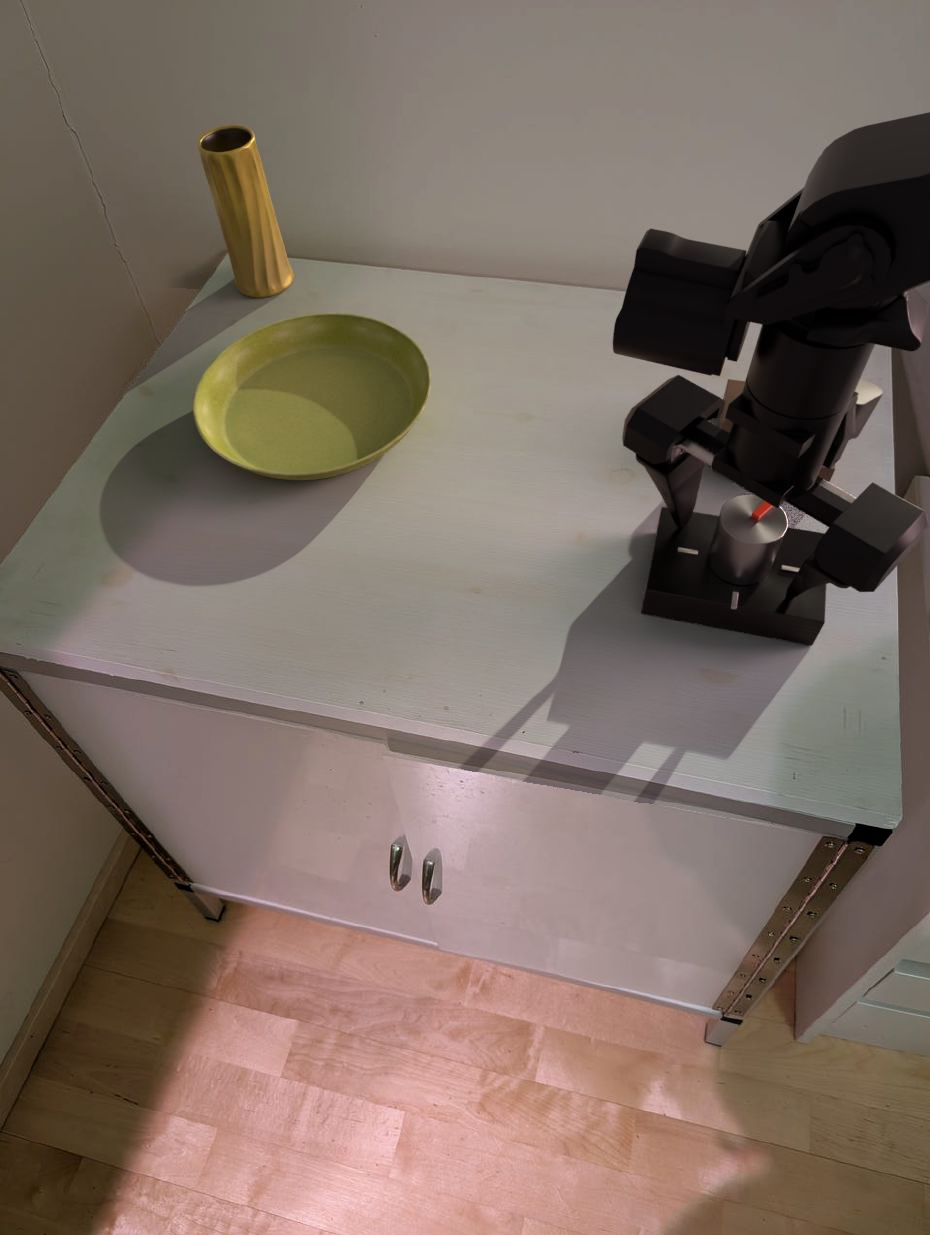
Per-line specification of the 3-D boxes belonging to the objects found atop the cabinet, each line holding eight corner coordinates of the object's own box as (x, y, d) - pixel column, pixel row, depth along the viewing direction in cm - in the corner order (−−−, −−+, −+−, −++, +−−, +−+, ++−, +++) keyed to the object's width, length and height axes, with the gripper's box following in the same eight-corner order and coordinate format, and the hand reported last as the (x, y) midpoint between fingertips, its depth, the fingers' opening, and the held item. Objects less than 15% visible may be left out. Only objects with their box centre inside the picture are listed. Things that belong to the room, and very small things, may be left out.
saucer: (288, 320, 83) (281, 291, 80) (474, 375, 77) (472, 346, 74) (155, 455, 73) (142, 428, 70) (356, 532, 67) (349, 504, 64)
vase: (224, 291, 86) (178, 149, 75) (256, 259, 89) (216, 117, 78) (274, 303, 85) (235, 160, 73) (305, 270, 88) (272, 127, 76)
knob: (746, 596, 58) (763, 552, 54) (694, 561, 60) (707, 516, 56) (783, 560, 59) (802, 514, 55) (732, 527, 61) (747, 481, 57)
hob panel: (816, 556, 63) (829, 529, 60) (812, 650, 58) (825, 624, 56) (656, 529, 65) (662, 501, 63) (639, 617, 61) (645, 591, 58)
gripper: (1031, 389, 46) (915, 565, 58) (742, 256, 53) (696, 437, 66) (928, 500, 41) (827, 663, 54) (632, 338, 49) (605, 514, 62)
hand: (735, 558), depth 59 cm, fingers open, 9 cm apart
